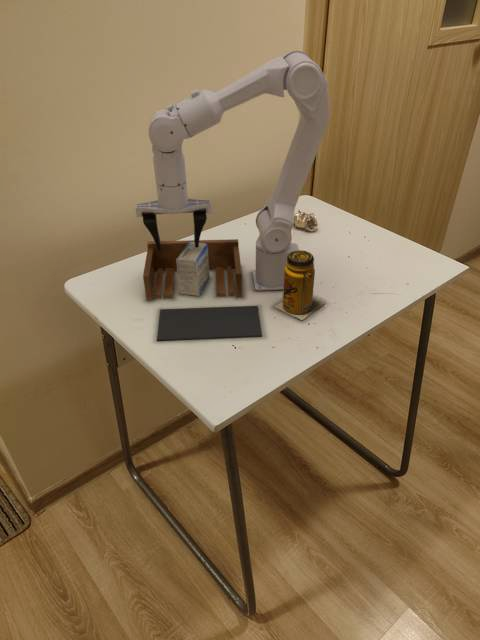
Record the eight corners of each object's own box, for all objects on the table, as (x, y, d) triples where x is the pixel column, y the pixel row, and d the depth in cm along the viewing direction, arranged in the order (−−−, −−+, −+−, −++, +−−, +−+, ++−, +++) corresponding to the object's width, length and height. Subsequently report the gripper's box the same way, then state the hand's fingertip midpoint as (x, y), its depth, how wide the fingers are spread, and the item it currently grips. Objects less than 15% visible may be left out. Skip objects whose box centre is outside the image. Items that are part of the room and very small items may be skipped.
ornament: (324, 227, 133) (326, 214, 131) (307, 235, 129) (308, 221, 127) (303, 217, 137) (304, 204, 135) (285, 224, 134) (286, 211, 131)
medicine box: (199, 297, 106) (196, 261, 101) (179, 294, 107) (175, 258, 101) (210, 278, 112) (208, 243, 106) (191, 275, 113) (188, 240, 107)
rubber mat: (257, 307, 104) (257, 305, 104) (262, 336, 96) (262, 335, 96) (160, 310, 102) (160, 309, 102) (157, 341, 94) (156, 339, 94)
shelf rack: (238, 266, 116) (238, 239, 112) (242, 297, 107) (241, 268, 102) (151, 269, 114) (147, 241, 110) (146, 301, 105) (142, 271, 100)
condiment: (274, 307, 104) (276, 256, 96) (298, 291, 109) (302, 241, 101) (301, 321, 101) (306, 269, 93) (326, 303, 106) (332, 253, 98)
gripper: (207, 171, 98) (211, 235, 107) (132, 175, 96) (142, 239, 105) (211, 185, 93) (214, 251, 102) (131, 189, 91) (142, 256, 100)
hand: (178, 246), depth 103 cm, fingers open, 7 cm apart
